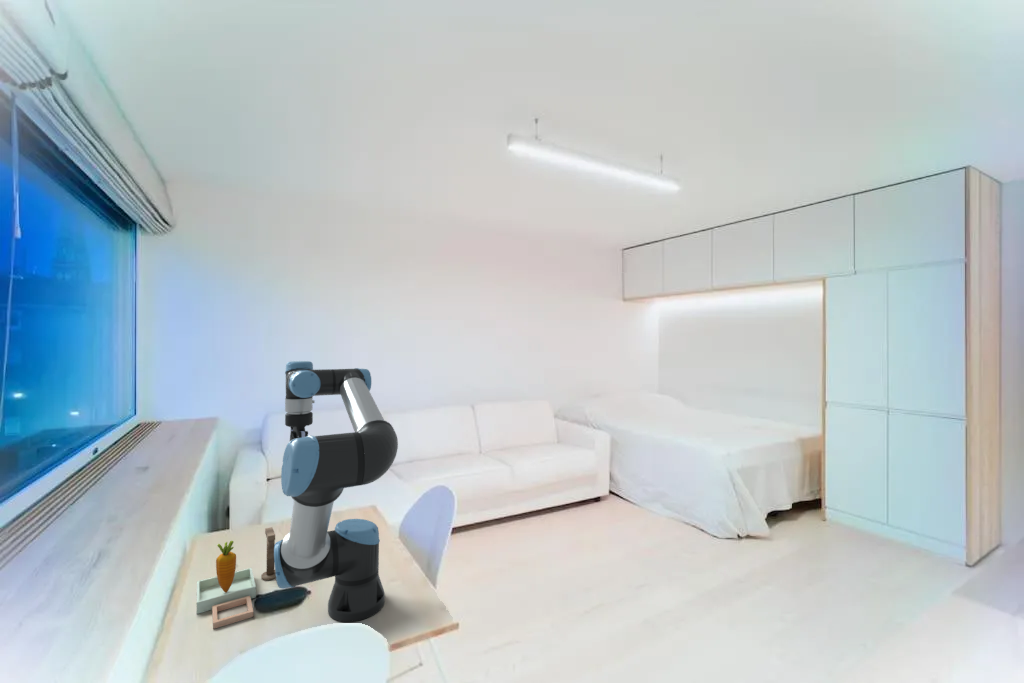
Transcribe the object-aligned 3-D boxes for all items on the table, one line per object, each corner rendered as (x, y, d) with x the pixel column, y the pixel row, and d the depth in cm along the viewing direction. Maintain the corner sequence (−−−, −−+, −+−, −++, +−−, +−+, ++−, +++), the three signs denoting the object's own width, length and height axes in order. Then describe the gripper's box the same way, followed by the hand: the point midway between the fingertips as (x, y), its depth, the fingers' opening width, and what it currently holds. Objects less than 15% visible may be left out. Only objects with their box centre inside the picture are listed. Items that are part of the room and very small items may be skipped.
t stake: (280, 577, 140) (280, 534, 140) (262, 582, 137) (262, 538, 137) (277, 567, 146) (277, 526, 146) (259, 571, 143) (260, 529, 143)
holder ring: (253, 616, 120) (253, 611, 120) (213, 628, 115) (213, 623, 115) (250, 600, 127) (250, 595, 127) (212, 611, 122) (212, 605, 122)
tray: (255, 597, 129) (255, 586, 129) (196, 614, 121) (196, 602, 121) (251, 577, 140) (251, 567, 140) (196, 591, 132) (196, 581, 132)
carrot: (211, 596, 128) (211, 544, 128) (225, 586, 133) (225, 536, 133) (226, 598, 127) (226, 546, 127) (240, 588, 132) (240, 538, 132)
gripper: (321, 417, 127) (320, 491, 127) (304, 405, 147) (303, 469, 147) (292, 419, 122) (291, 496, 122) (279, 407, 143) (278, 473, 143)
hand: (298, 482), depth 135 cm, fingers open, 13 cm apart
